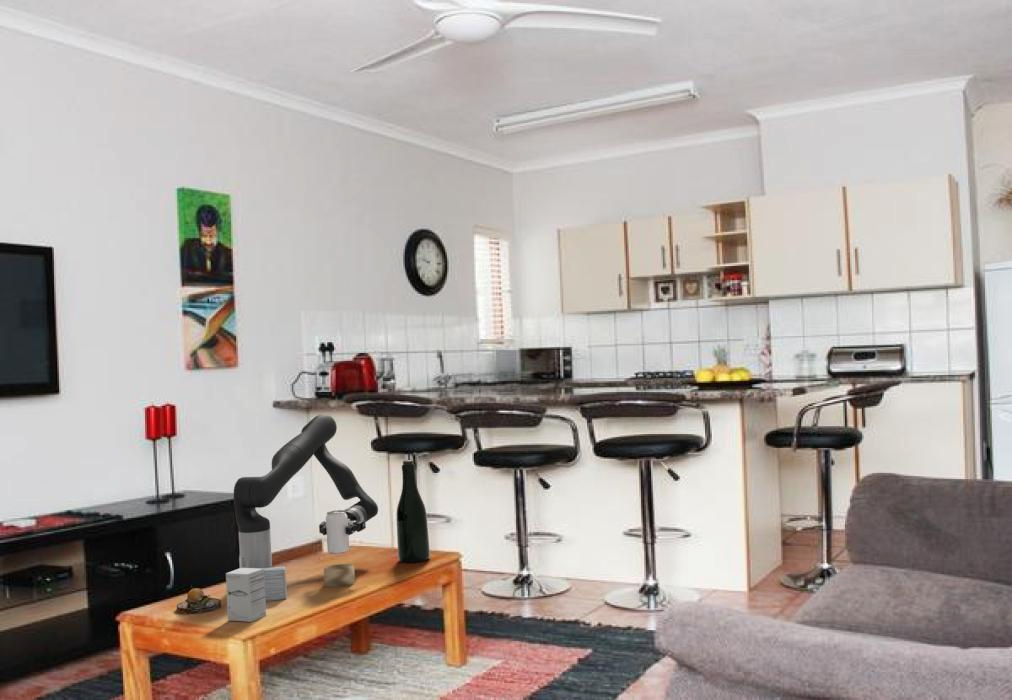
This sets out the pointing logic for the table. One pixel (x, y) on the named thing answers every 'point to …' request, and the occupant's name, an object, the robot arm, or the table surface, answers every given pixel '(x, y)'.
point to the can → (337, 532)
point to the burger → (198, 603)
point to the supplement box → (245, 594)
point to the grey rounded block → (339, 575)
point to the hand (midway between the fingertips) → (335, 531)
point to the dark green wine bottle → (411, 520)
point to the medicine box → (275, 583)
